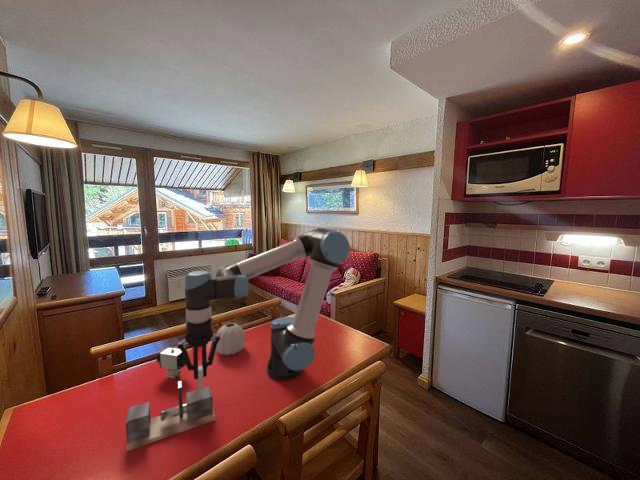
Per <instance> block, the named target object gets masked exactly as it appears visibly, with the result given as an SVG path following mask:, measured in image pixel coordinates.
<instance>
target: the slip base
mask: <svg viewBox="0 0 640 480" xmlns="http://www.w3.org/2000/svg"><path fill="white" fill-rule="evenodd" d="M185 397H186V400H185V401H186V403H187V412H188V413H185V414H183V418H181V419H180V415H179V416H176V417H173V418H170V419H167V420H164V421H161V416H160V415H158V416H154V417H152V418H151V409H150V408H151V406H150V401H148V402H147V401H146V402H145V403H140V404H137V405H134V406H130V408H128V410H127V414H126V418H125V419H126V420H125V430H126V431H125V433H126V452H129V451H131V450H134V449H137V448H140V447H142V446H145V445H148V444H152V443H154V442H157V441H159V440H162V439H165V438H168V437H171V436H174V435H176V434H179V433H182V432H185V431H189V430H191V429H193V428H197V427H199V426H202V425H204V424H208V423H210V422H213V421H216V413H215V410H214V406H213V394H212V389H211V386H210V385H209V386H206V387H203V388H201V389H195V390H193V391H188V392H186V394H185Z"/></svg>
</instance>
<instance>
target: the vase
mask: <svg viewBox="0 0 640 480" xmlns="http://www.w3.org/2000/svg"><path fill="white" fill-rule="evenodd" d="M216 334H219V336H220V340H219V342H218V343H217V346H216V352H217V353H219V355H222V356H224V355H225V356H230V355H233V356H234V355H235V354H236V353H237V354H238V353H241V351H242V350H243V348H244V347H245V343H246V336H245V331H244V329H243V327H242V326H241V325H239V324H237V323H235V322H229V323H226V324H224V325H222V326H221V327H220V328H219V329H218V330H217V332H216Z"/></svg>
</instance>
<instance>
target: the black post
mask: <svg viewBox="0 0 640 480" xmlns="http://www.w3.org/2000/svg"><path fill="white" fill-rule="evenodd" d="M177 392H178V393H177V394H178V405H177V406H174V407H170V408H167V409H164V410H161V411H160V414H159V416H161V421H164V420H167V419H170V418H173V417H176V416H179V415H180V419H181V418H183V414H185V413H188V412H187V402H186V403H184V402H183V386H182V380H179V381H177ZM183 403H184V404H183Z"/></svg>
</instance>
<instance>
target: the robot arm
mask: <svg viewBox="0 0 640 480" xmlns="http://www.w3.org/2000/svg"><path fill="white" fill-rule="evenodd" d="M349 254H350V242H349V240H348V237H347V236H346V235H345V234H344V233H342V232H340V231H337V230H334V229H327V228H323V227H322V228H321V227H320V228H315V229H312V230H310V231H308V232H305V233H303V234H301V235H298V236H295V237H294V240H291V241H289V242H287V243H284V244H282V245H280V246H277V247H275V248H274V247H273V248H272V249H270V250H268V251H267V250H266V251H264V252H262V253H260V254H259V253H258V254H256V255H255V256H252V257H249V258H247V259H245V260H242V261H239V262H237V263H234V264H232V265H223V266H221V267H219V268H218V269H217V271H216V273H215V276H211V275H212V274H211V272H210V271H207V270H196V271H190V272H188V273H187V274H186V275H185V277H184V278H185V279H184V295H185V296H184V298H185V300H184V301H185V320H186V321H185V328H186V329H185V330H186V334H185V336H184V339H182V340H180V341H178V342H177V348H178V349H180V350H181V351H182V354H183V356H184V359H185V362H186V365H185V366H186V368H187V370H188V371H189V372H190V371H193V378H194V380H197V388H198V389H197V390H199V389H202V388H204V378H206V377H207V373H208V372H207V370H208V367H209V366H212V365H213V362H214V359H215V356H216V355H215V354H216V352H217V350H216V346H217V343H218V342H219V340H220V336H219V334H217V333H214V332H213V330H212V327H213V326H212V318H211V317H212V301H218V300H219V301H220V300H230V299H239V298H244V297H247V296H248V295H249V291H250V283H249V280H250V279H253V278H255V277H257V276H260V275H262V274H264V273H267V272H269V271H271V270H274V269H276V268H278V267H280V266H284V265H286V264H287V263H290V262H293V261H296V260H297V259H300V258H302V259H305V258H308V257H309V261H310V264H311V266H310V269H309V272H308V276H307V278H306V281H305V284H304V287H303V290H302V293H301V297H300V300H299V302H298V306H297V308H296V311H295V314H294V317H293V316H283V317H278V318H275V319H273V320H272V321H271V322H270V355H269V359H268V361H267V364H266V374H267V375H268V376H269V377H270V378H271V379H273V380H276V381H289V380H292V379H295V378H297V377H298V376H299V375H301V373H302V371H303V370H305V369H306V368H308V367H309V366H310V365H311V364H312V363H313V361H314V360H315V357H316V351H315V347H314V342H315V339H316V332H315V330H314V329H315V327H316V323H317V321H318V317H319V315H320V312H321V309H322V305H323V303H324V300H325V296H326V294H327V290H328V287H329V284H330V282H331V278H332V275H333V272H334V271H336V270H338V269H339V267H340V263H342V262H343V261H345V260H346V259H347V257H348V256H349ZM211 340H212V341H211ZM210 341H211V345H210V350H209V352H208V353H209V354H208V357H207V345H208V344H209V342H210ZM187 344H188V345H189V346H190V347H191V348H192V355H193V358H192V359H193V361H192V362H193V363H192V362H191V359H190V356H189V353H188V349H187ZM200 347H201V365H199V352H198V351H199V348H200Z"/></svg>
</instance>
